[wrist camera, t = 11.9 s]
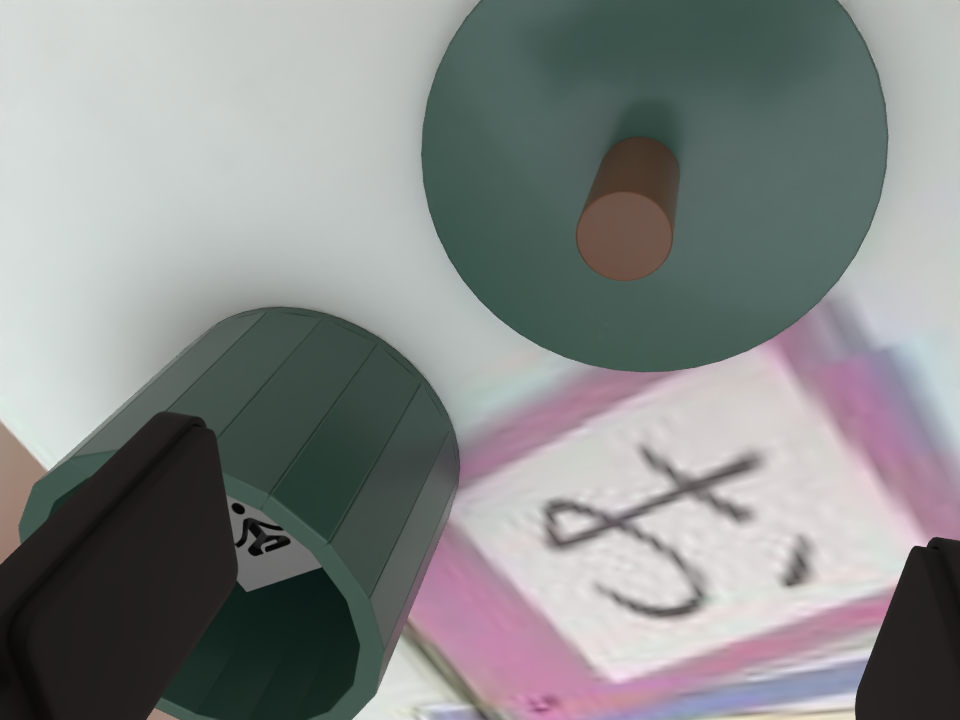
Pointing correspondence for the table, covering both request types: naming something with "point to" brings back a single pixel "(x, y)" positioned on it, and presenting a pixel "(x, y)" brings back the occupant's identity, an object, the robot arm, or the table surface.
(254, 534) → the dice cube
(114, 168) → the table surface
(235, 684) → the tin
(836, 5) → the lid
